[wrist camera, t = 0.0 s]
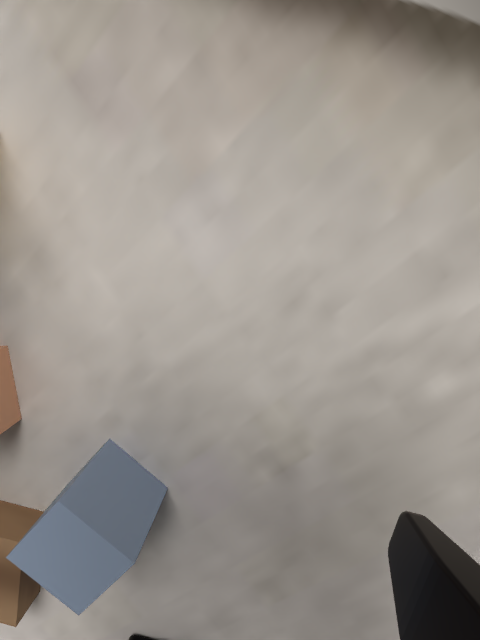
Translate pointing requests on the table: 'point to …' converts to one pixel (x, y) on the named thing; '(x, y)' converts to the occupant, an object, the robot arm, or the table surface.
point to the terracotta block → (7, 393)
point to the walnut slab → (5, 577)
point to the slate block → (91, 528)
